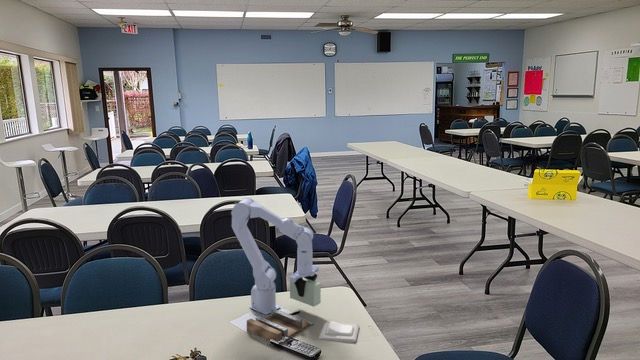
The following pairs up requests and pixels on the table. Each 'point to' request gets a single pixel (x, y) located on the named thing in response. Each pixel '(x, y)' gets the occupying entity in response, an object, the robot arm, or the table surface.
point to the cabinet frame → (276, 326)
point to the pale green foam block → (307, 293)
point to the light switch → (339, 332)
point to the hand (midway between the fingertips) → (304, 294)
